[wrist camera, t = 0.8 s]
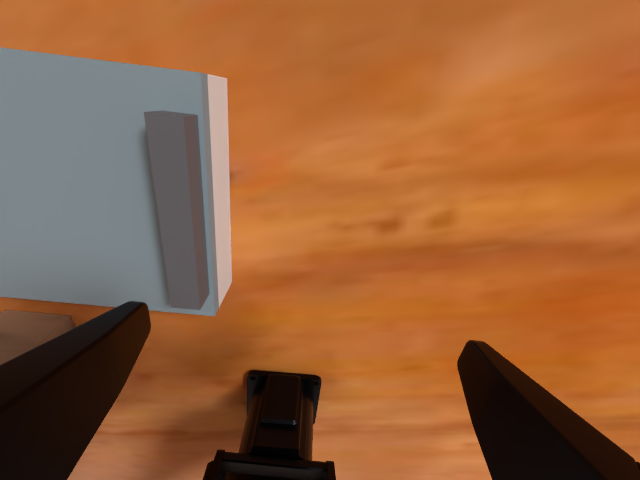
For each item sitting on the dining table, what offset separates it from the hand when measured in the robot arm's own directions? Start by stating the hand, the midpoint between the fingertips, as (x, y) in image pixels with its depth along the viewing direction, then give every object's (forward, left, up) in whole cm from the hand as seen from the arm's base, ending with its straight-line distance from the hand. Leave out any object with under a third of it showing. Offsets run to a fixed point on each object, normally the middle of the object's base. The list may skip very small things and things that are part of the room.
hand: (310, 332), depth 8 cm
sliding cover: (0, +13, -9) cm, 16 cm away
